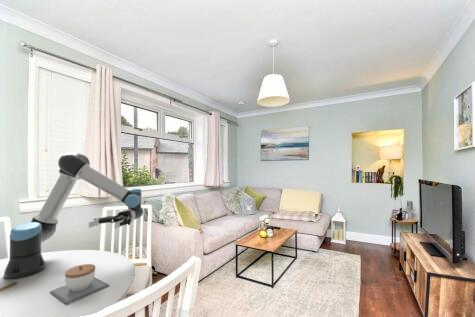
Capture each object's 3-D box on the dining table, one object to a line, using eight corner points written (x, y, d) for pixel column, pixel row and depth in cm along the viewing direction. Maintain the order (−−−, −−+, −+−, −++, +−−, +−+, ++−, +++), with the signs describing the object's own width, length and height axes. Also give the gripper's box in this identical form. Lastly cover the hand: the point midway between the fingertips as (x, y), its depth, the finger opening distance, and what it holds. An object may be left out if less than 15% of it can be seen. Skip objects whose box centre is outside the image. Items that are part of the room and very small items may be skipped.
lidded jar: (79, 295, 90) (80, 272, 91) (57, 293, 92) (58, 270, 93) (100, 282, 101) (101, 261, 101) (80, 280, 103) (81, 259, 103)
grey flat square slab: (49, 292, 94) (49, 291, 94) (91, 276, 108) (91, 275, 108) (66, 305, 85) (66, 303, 85) (109, 286, 99) (109, 284, 99)
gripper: (145, 223, 133) (125, 233, 112) (105, 222, 135) (78, 232, 114) (146, 210, 134) (126, 218, 113) (106, 209, 135) (79, 217, 114)
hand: (102, 225), depth 113 cm, fingers open, 13 cm apart
